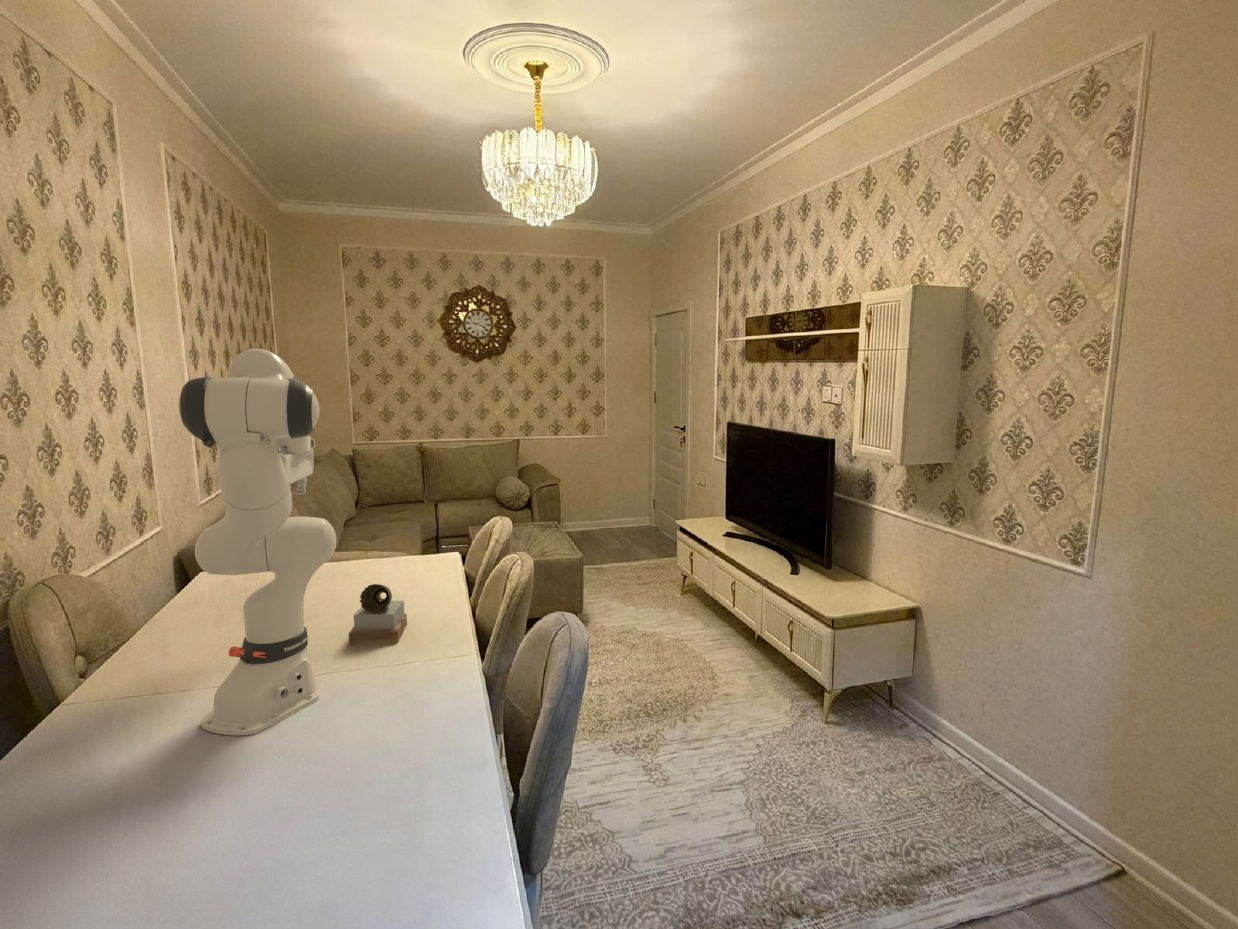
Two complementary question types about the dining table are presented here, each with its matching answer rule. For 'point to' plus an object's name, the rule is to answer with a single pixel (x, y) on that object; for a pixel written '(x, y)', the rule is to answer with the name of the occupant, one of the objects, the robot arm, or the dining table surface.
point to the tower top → (379, 617)
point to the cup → (375, 598)
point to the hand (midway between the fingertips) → (294, 497)
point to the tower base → (378, 634)
